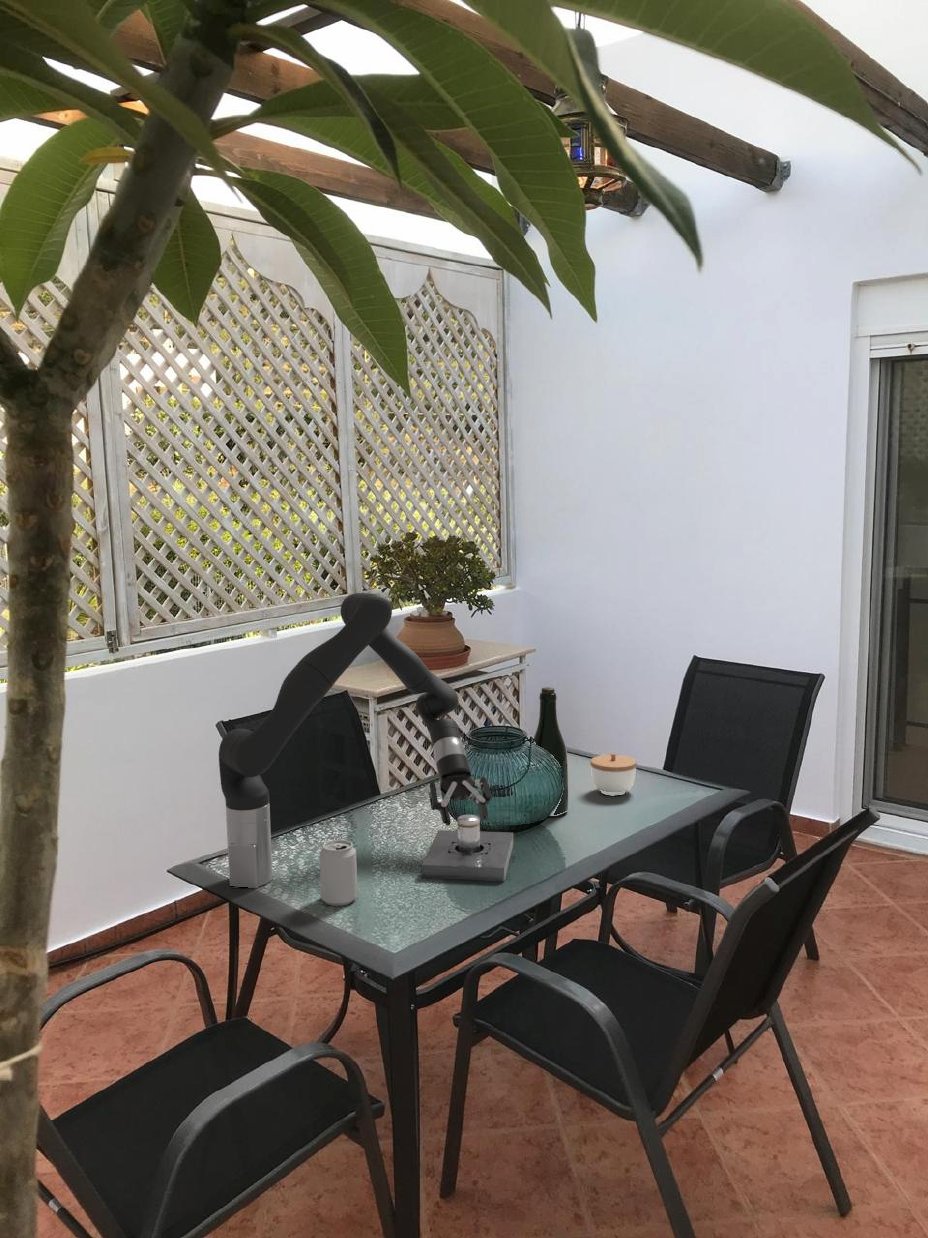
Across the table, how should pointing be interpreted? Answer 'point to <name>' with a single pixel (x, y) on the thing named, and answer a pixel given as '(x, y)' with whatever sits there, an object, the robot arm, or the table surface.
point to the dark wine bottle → (552, 739)
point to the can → (338, 872)
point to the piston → (469, 834)
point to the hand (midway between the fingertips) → (466, 822)
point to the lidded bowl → (613, 772)
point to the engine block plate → (468, 857)
